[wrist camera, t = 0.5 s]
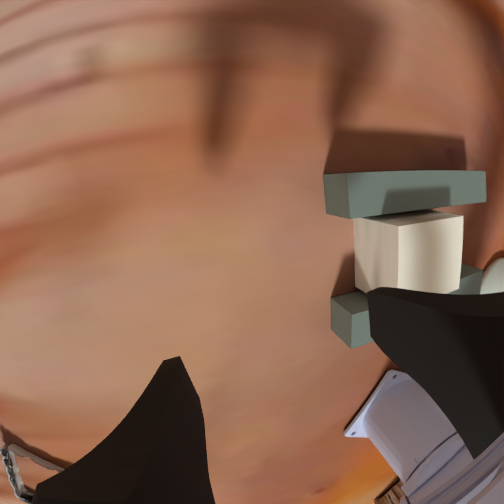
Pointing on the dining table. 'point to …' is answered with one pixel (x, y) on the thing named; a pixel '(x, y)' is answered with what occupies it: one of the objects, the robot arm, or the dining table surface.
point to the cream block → (409, 251)
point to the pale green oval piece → (493, 277)
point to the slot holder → (394, 201)
